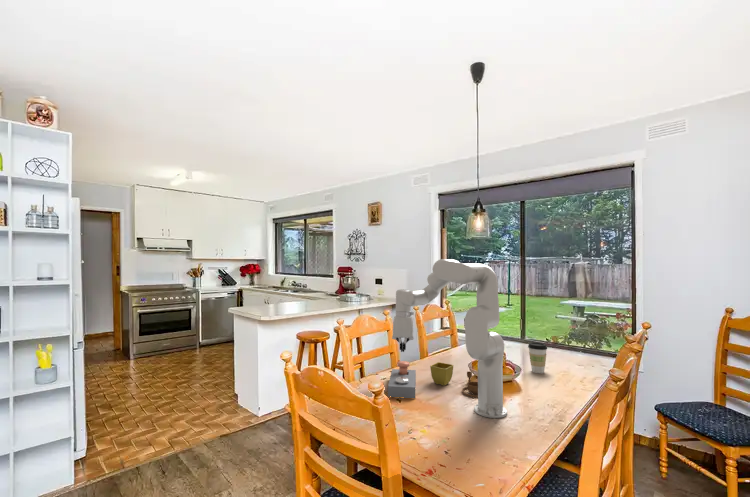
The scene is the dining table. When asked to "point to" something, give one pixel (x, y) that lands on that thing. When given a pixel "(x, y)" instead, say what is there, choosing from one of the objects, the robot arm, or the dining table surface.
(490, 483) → the dining table surface
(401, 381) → the metal plunger
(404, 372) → the terracotta plunger
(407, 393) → the block
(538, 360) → the coffee cup
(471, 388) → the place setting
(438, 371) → the flower pot
